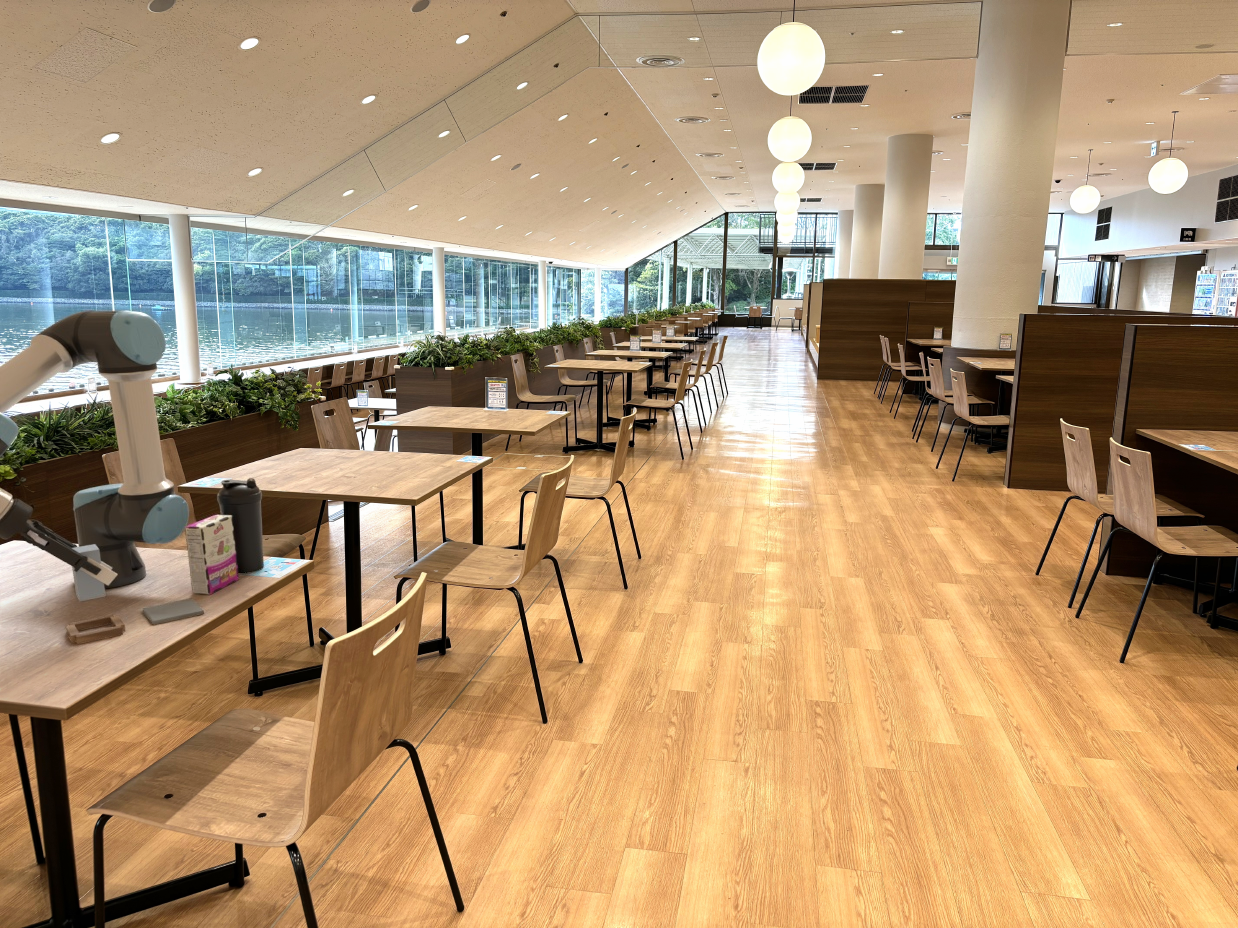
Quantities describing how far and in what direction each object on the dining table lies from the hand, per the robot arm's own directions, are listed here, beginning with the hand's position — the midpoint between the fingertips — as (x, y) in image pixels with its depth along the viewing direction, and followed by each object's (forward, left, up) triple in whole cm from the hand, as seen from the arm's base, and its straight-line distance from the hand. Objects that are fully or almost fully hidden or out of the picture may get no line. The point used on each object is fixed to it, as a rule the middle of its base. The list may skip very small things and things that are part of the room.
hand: (109, 576), depth 177 cm
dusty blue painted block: (0, -4, -3) cm, 5 cm away
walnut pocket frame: (0, -4, -11) cm, 12 cm away
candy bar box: (-14, +23, -12) cm, 30 cm away
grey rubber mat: (-2, +11, -11) cm, 16 cm away
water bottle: (-24, +33, -12) cm, 43 cm away
